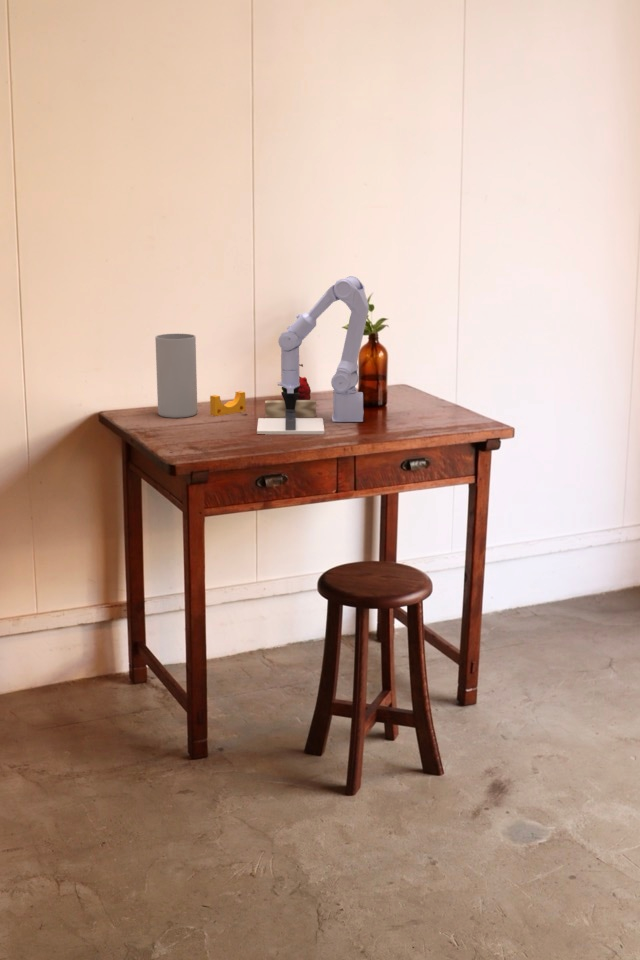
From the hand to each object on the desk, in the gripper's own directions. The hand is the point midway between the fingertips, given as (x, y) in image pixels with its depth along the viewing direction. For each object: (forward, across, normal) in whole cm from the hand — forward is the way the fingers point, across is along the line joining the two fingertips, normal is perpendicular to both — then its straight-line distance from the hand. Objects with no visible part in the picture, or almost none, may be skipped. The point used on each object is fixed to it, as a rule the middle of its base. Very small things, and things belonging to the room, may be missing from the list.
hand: (290, 411), depth 367 cm
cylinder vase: (+2, -3, -36) cm, 36 cm away
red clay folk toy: (+2, -21, +3) cm, 21 cm away
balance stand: (+1, +17, 0) cm, 17 cm away
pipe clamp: (+2, -5, -21) cm, 21 cm away
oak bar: (+2, 0, 0) cm, 2 cm away
